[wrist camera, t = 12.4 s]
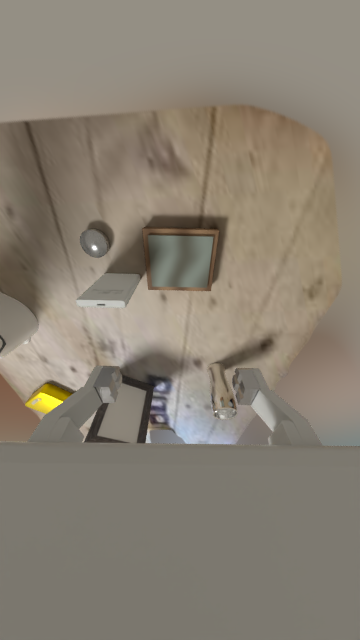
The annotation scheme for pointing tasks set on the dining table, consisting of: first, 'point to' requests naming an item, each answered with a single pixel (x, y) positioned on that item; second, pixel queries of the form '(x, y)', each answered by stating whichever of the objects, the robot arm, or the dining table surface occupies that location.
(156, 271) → the mirror
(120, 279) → the external hard drive
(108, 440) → the picture frame
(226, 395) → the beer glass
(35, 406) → the element tile
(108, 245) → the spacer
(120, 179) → the dining table surface
